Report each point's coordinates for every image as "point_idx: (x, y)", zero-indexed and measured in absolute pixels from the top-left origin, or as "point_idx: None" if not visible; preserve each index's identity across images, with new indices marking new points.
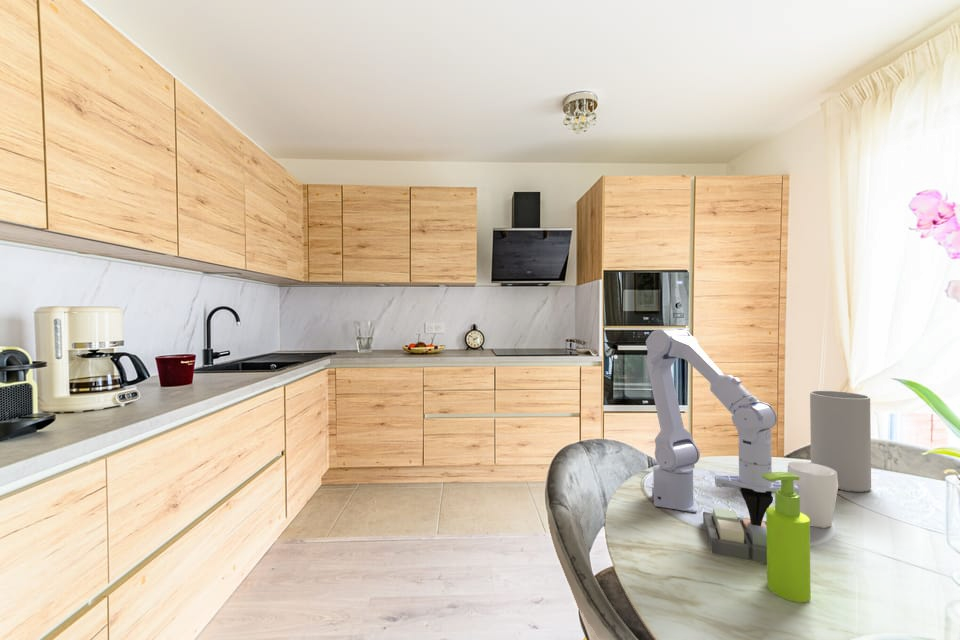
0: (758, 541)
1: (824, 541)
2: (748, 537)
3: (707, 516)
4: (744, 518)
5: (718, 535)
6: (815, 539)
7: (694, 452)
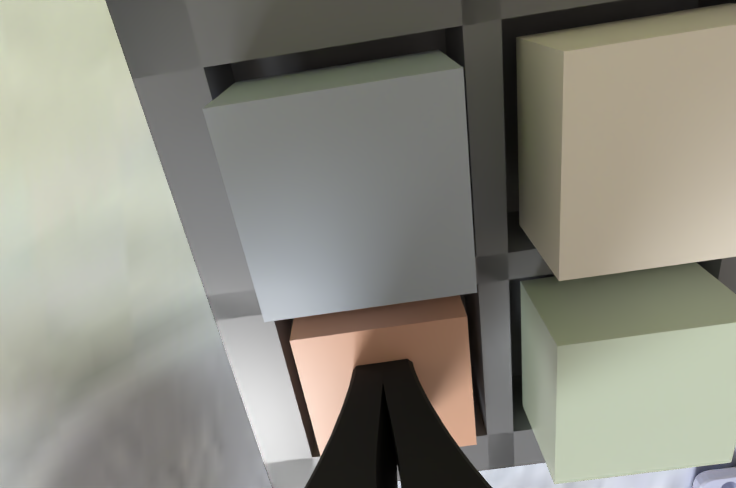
0: (397, 67)
1: (23, 475)
2: None
3: None
4: None
5: None
6: (66, 474)
7: None
